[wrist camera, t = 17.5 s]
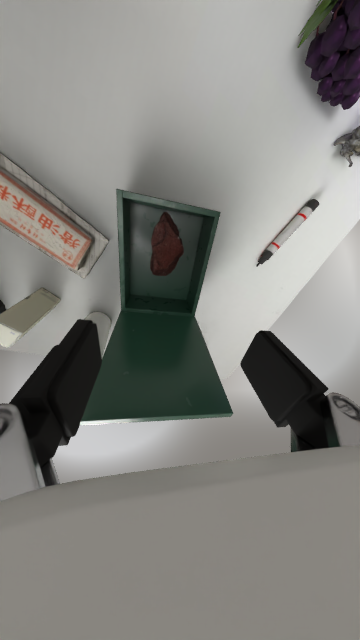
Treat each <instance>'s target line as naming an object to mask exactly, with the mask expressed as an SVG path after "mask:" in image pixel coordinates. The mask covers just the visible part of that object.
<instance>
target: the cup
mask: <svg viewBox="0 0 360 640" xmlns="http://www.w3.org/2000/svg"><path fill="white" fill-rule="evenodd" d="M84 320H92V321H93V323H96V324H97V330H98V337H99V344H100V350H101V357H103V353H104V349H105V345H106V342H107V338H108V334H109V330H110V327H111V320H110V319H109V317H108V316H107V315H106V314H103V313H101V312H94V313H91V314H89V315H88V316H87V317H86V318H85V319H84Z"/></svg>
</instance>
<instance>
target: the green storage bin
mask: <svg viewBox="0 0 360 640" xmlns="http://www.w3.org/2000/svg"><path fill="white" fill-rule="evenodd" d="M116 193H117V217H118V242H119V267H120V292H121V311H128V312H141V313H154V314H166V315H179V316H192V317H194V316H195V312H196V308H197V304H198V300H199V296H200V292H201V288H202V284H203V280H204V276H205V272H206V268H207V264H208V260H209V256H210V252H211V248H212V244H213V240H214V236H215V232H216V228H217V224H218V221H219V217H220V212H218V211H213V210H209V209H204V208H200V207H195V206H191V205H186V204H182V203H177V202H173V201H168V200H164V199H160V198H155V197H151V196H146V195H142V194H137V193H133V192H128V191H124V190H119V189H116ZM164 212H167V213H168V214H170V215H171V218H172V219H173V222H174V223H175V224H176V226H177V228H178V231H179V238H180V239H182V243H183V247H184V254H183V255H182V256H181V257H179V261H178V263H177V265H176V267H175V269H174V270H173V271H172V272H171V273H170V274H168V275H167V276H157V275H153V274H152V271H151V270H150V261H151V255H152V246H151V238H152V234H153V231H154V227H155V226H156V225H157V223H158V222H159V221H160V216H161V215H162V214H163V213H164Z"/></svg>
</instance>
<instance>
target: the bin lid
mask: <svg viewBox="0 0 360 640" xmlns="http://www.w3.org/2000/svg"><path fill="white" fill-rule="evenodd" d="M232 414H233V412H232V409H231V407H230V404H229V402H228V399H227V396H226V394H225V392H224V389H223V386H222V384H221V381H220V379H219V376H218V374H217V371H216V369H215V366H214V363H213V361H212V358H211V356H210V353H209V351H208V348H207V346H206V343H205V341H204V338H203V336H202V333H201V331H200V328H199V325H198V323H197V320H196V318H195V317H192V316H179V315H166V314H154V313H141V312H128V311H121V312H120V314H119V317H118V319H117V322H116V325H115V327H114V330H113V332H112V335H111V338H110V340H109V343H108V345H107V348H106V350H105V353H104V356H103V358H102V364H101V368H100V370H99V373H98V376H97V379H96V381H95V384H94V387H93V390H92V392H91V395H90V398H89V400H88V403H87V406H86V409H85V411H84V414H83V417H82V420H81V422H80V425H95V424H112V423H128V422H129V423H130V422H145V421H165V420H180V419H181V420H182V419H199V418H217V417H230V416H232Z"/></svg>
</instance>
